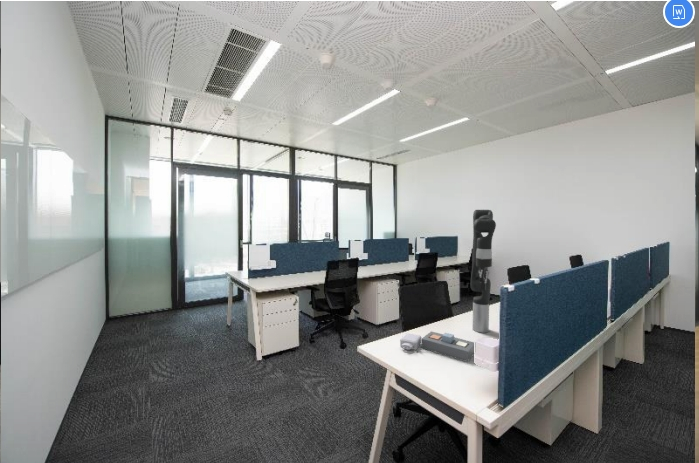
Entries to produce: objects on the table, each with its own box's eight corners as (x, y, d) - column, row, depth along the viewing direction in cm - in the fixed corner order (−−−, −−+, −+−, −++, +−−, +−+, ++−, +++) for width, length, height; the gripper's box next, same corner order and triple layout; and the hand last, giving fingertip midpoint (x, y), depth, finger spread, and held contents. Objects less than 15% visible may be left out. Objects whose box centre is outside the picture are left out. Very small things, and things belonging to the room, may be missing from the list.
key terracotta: (432, 343, 159) (432, 334, 159) (440, 345, 156) (440, 336, 156) (429, 346, 155) (429, 336, 155) (437, 348, 152) (437, 339, 152)
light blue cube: (445, 341, 154) (445, 332, 154) (453, 344, 151) (453, 334, 151) (442, 344, 151) (442, 335, 150) (450, 347, 148) (450, 337, 148)
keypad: (431, 339, 164) (431, 331, 164) (475, 352, 149) (475, 342, 148) (421, 347, 154) (421, 338, 153) (467, 361, 139) (467, 351, 138)
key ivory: (458, 350, 150) (458, 341, 150) (467, 352, 147) (467, 343, 147) (455, 353, 146) (455, 344, 146) (464, 356, 143) (464, 346, 143)
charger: (396, 351, 150) (405, 340, 163) (413, 355, 146) (421, 344, 159) (396, 342, 150) (405, 332, 163) (413, 346, 145) (421, 335, 159)
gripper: (479, 255, 157) (479, 286, 158) (472, 258, 147) (472, 291, 148) (494, 256, 152) (494, 288, 153) (488, 259, 142) (487, 293, 143)
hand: (483, 289), depth 150 cm, fingers closed
